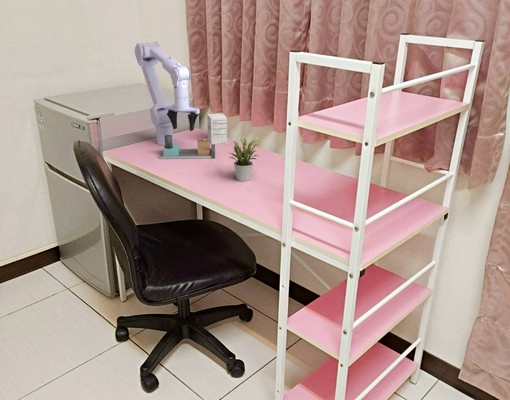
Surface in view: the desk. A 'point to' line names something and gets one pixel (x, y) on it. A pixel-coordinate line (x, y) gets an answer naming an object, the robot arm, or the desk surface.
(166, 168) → the desk surface
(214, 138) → the supplement box
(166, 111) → the robot arm
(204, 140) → the wooden block with knob
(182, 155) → the tray
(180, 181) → the desk surface
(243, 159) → the house plant
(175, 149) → the ram
